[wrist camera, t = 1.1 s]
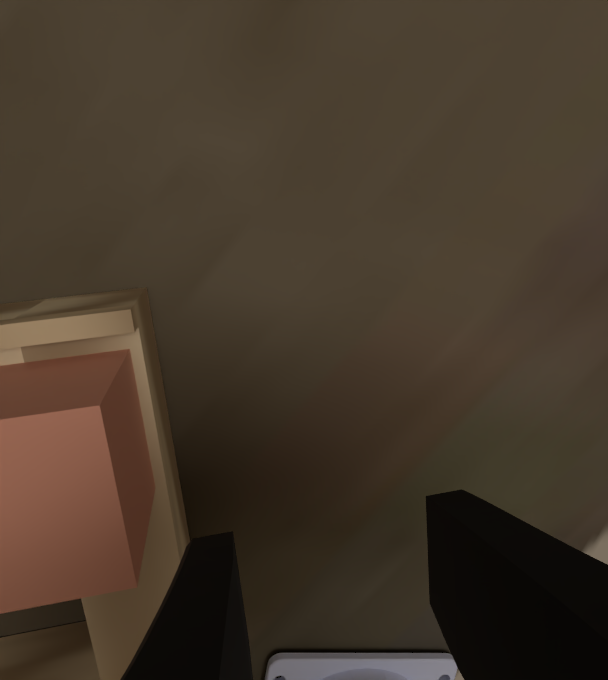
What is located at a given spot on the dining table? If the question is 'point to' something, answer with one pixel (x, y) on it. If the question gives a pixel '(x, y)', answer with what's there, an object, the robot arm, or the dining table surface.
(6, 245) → the dining table surface
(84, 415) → the brick block
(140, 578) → the trap tray
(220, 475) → the dining table surface
